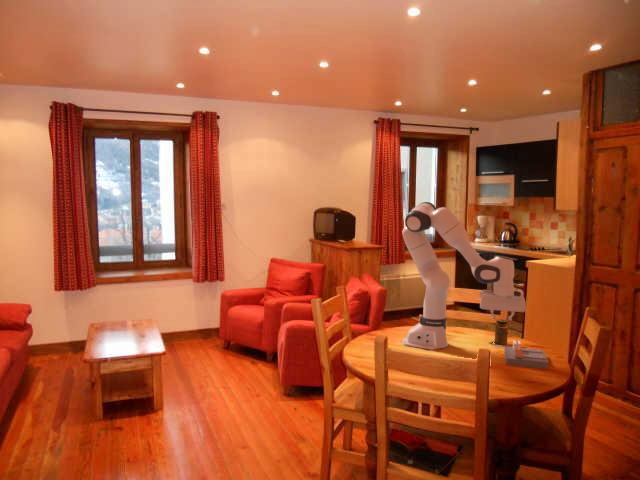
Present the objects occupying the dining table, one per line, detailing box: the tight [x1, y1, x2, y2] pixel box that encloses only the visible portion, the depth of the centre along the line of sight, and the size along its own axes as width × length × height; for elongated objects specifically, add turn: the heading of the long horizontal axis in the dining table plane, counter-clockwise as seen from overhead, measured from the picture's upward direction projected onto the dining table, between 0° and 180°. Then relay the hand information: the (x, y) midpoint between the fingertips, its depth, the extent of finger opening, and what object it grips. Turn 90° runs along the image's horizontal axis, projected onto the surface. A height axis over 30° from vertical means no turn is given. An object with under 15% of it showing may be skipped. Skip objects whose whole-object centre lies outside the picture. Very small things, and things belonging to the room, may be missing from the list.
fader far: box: [512, 340, 522, 350], centre depth 230 cm, size 3×5×4 cm, turn 163°
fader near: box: [514, 346, 523, 358], centre depth 221 cm, size 3×5×4 cm, turn 163°
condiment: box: [488, 319, 511, 348], centre depth 250 cm, size 7×8×12 cm
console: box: [503, 345, 549, 370], centre depth 225 cm, size 17×18×3 cm
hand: (502, 319), depth 231 cm, fingers open, 5 cm apart
